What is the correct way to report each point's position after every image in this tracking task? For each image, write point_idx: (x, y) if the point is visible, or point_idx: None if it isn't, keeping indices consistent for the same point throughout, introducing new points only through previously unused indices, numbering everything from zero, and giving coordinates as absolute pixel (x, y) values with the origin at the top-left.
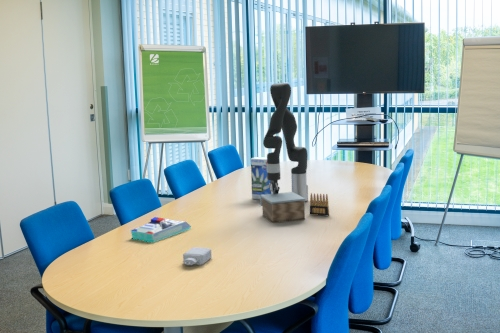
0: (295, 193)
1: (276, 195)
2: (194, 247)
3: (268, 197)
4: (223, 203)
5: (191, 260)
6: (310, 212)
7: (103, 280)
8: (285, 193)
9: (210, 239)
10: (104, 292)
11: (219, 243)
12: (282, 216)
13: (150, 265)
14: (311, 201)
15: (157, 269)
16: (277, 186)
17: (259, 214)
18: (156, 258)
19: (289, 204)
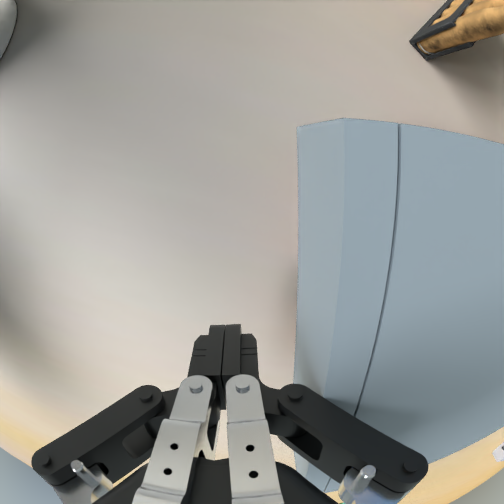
0: (491, 141)
1: (424, 413)
2: (501, 459)
3: (430, 452)
4: (21, 414)
5: None
6: (438, 54)
7: (468, 486)
8: (410, 306)
9: (449, 460)
10: (491, 473)
11: (482, 441)
12: None
13: (472, 475)
14: (501, 32)
15: (488, 465)
16: (400, 499)
17: (268, 381)
18: (458, 481)
19: None
